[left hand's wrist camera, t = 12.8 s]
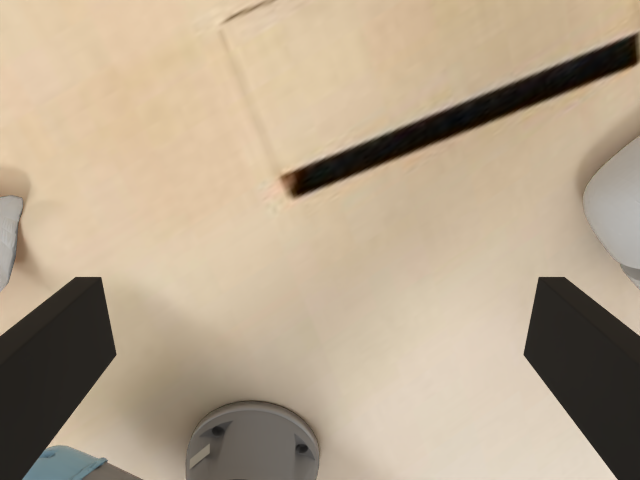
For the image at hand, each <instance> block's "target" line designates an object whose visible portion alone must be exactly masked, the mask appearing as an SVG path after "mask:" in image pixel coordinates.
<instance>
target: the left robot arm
mask: <svg viewBox="0 0 640 480" xmlns="http://www.w3.org/2000/svg"><path fill="white" fill-rule="evenodd" d="M115 356H116V350H115V345H114V340H113V335H112V330H111V325H110V319H109V314H108V309H107V304H106V299H105V294H104V289H103V284H102V279H101V277H75V278H74V279H73V280H71V281H70V282H69V283H67V284H66V285H65V286H64V287H62V288H61V289H60V290H59V291H57V292H56V293H55V294H53V295H52V296H51V297H50V298H48V299H47V300H46V301H45V302H43V303H42V304H41V305H39V306H38V307H37V308H36V309H34V310H33V311H32V312H31V313H29V314H28V315H27V316H25V317H24V318H23V319H22V320H20V321H19V322H18V323H17V324H15V325H14V326H13V327H11V328H10V329H9V330H8V331H6V332H5V333H4V334H3V335H1V336H0V480H143V479H141V478H139V477H136V476H134V475H132V474H130V473H128V472H126V471H124V470H122V469H120V468H118V467H115V466H113V465H111V464H109V463H107V461H108V460H107V459H106V458H100V459H98V458H96V457H93V456H91V455H88V454H86V453H83V452H81V451H78V450H76V449H74V448H71V447H68V446H62V445H58V446H52V447H49V448H47V449H46V447H47V446H48V445H49V443H50V442H51V441H52V440H53V438H54V437H55V436H56V434H57V433H58V432H59V430H60V429H61V428H62V426H63V425H64V424H65V422H66V421H67V420H68V418H69V417H70V416H71V414H72V413H73V412H74V410H75V409H76V408H77V406H78V405H79V404H80V402H81V401H82V400H83V398H84V397H85V396H86V394H87V393H88V392H89V390H90V389H91V388H92V387H93V385H94V384H95V383H96V381H97V380H98V379H99V377H100V376H101V375H102V373H103V372H104V371H105V369H106V368H107V367H108V365H109V364H110V363H111V361H112V360H113V359H114V357H115ZM524 356H525V357H526V359H527V360H528V361H529V363H530V364H531V365H532V367H533V368H534V369H535V371H536V372H537V373H538V375H539V376H540V377H541V379H542V380H543V381H544V383H545V384H546V385H547V387H548V388H549V389H550V391H551V392H552V393H553V394H554V396H555V397H556V398H557V400H558V401H559V402H560V404H561V405H562V406H563V408H564V409H565V410H566V412H567V413H568V414H569V416H570V417H571V418H572V420H573V421H574V422H575V424H576V425H577V426H578V428H579V429H580V430H581V432H582V433H583V434H584V436H585V437H586V438H587V440H588V441H589V442H590V443H591V445H592V446H593V447H594V449H595V450H596V451H597V453H598V454H599V455H600V457H601V458H602V459H603V461H604V462H605V463H606V465H607V466H608V467H609V469H610V470H611V471H612V473H613V474H614V475H615V477H616V478H617V479H618V480H640V336H639V335H637V334H636V333H635V332H634V331H632V330H631V329H630V328H629V327H627V326H626V325H625V324H623V323H622V322H621V321H620V320H618V319H617V318H616V317H615V316H613V315H612V314H611V313H609V312H608V311H607V310H606V309H604V308H603V307H602V306H601V305H599V304H598V303H597V302H595V301H594V300H593V299H592V298H590V297H589V296H588V295H587V294H585V293H584V292H583V291H581V290H580V289H579V288H578V287H576V286H575V285H574V284H573V283H571V282H570V281H569V280H567V279H566V278H565V277H539V279H538V284H537V289H536V294H535V299H534V304H533V309H532V314H531V319H530V324H529V330H528V335H527V340H526V345H525V350H524ZM318 468H319V447H318V442H317V439H316V437H315V435H314V433H313V431H312V430H311V428H310V427H309V426H308V425H307V423H306V422H305V421H304V420H302V419H301V418H300V417H299V416H297V415H296V414H294V413H293V412H291V411H289V410H287V409H285V408H283V407H280V406H278V405H274V404H271V403H266V402H258V401H244V402H237V403H232V404H228V405H225V406H222V407H220V408H218V409H216V410H214V411H212V412H211V413H209V414H208V415H207V416H206V417H204V418H203V419H202V420H201V421H200V423H199V424H198V425H197V427H196V428H195V430H194V432H193V435H192V437H191V440H190V443H189V446H188V449H187V456H186V480H316V478H317V473H318Z"/></svg>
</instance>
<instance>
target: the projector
mask: <svg viewBox="0 0 640 480" xmlns="http://www.w3.org/2000/svg"><path fill="white" fill-rule="evenodd" d="M583 207H584V213H585V216H586V218H587V221H588V223H589V224H590V226H591V228H592V230H593V231H594V233H595V235H596V236H597V238H598V239H599V241H600V242H601V243H602V245H603V246H604V247H605V249H606V250H607V251H608V253H609V254H610V255H611V256H612V257H613V258H614V259H615V260H616V261H617V262H619V263H620V265H621V268H622V270H623V271H624V273H625V274H626V275H627V276H628V277H629V279H630V280H631V281H632V282H633V283H634V284H635V285H636V286H637V287H638V288H639V289H640V135H639V136H638V137H637V138H635V139H634V140H633V141H632V142H630V143H629V144H628V145H626V146H625V147H624V148H623V149H621V150H620V151H619V152H618V153H617V154H615V155H614V156H613V157H612V158H611V159H610V160H609V161H608V162H606V163H605V164H604V165H603V166H602V167H601V168H600V169H599V170H598V171H597V172H596V174H595V175H594V176H593V177H592V178H591V180H590V181H589V183H588V184H587V186H586V188H585V191H584V195H583Z"/></svg>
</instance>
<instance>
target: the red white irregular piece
mask: <svg viewBox="0 0 640 480" xmlns="http://www.w3.org/2000/svg"><path fill="white" fill-rule="evenodd" d="M22 209H23V199H22V197H17V196H13V195H10V196H3V197H0V292H1V291H2V290H3V289H4V287H5V286H6V285H7V284H8V282H9V279H10V275H11V271H12V268H13V264H14V261H15V257H16V246H17V234H18V222H19V219H20V216H21V213H22Z"/></svg>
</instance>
